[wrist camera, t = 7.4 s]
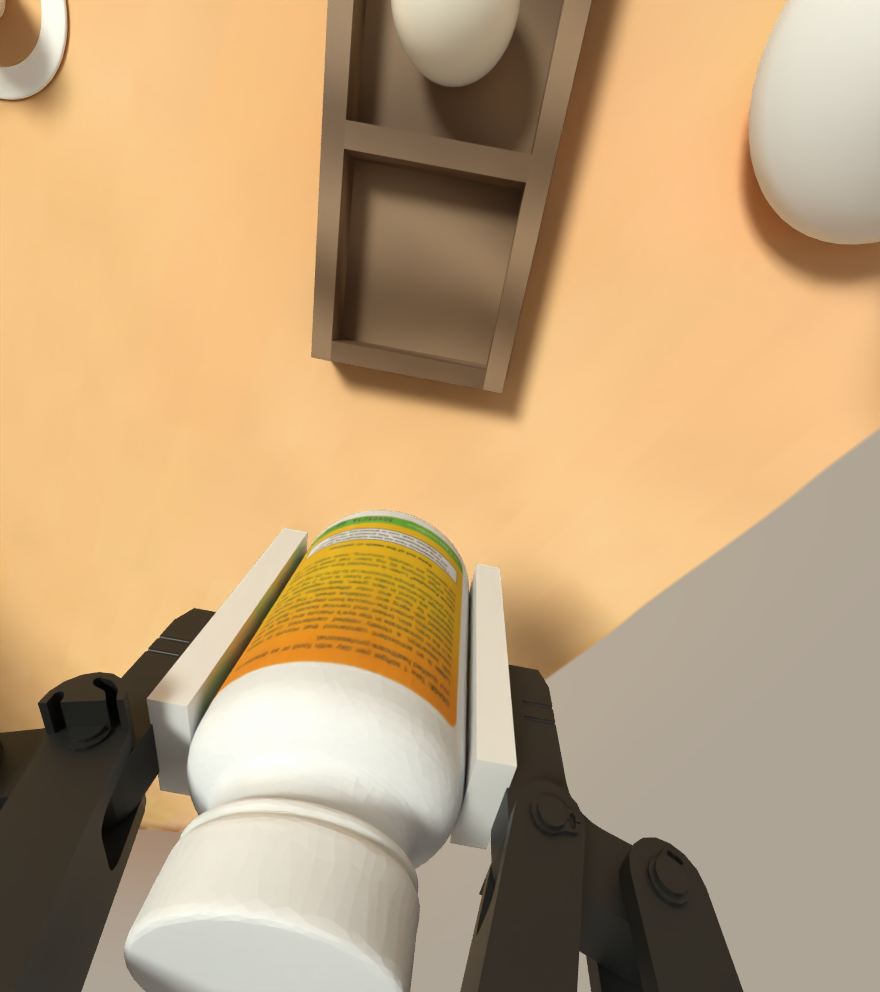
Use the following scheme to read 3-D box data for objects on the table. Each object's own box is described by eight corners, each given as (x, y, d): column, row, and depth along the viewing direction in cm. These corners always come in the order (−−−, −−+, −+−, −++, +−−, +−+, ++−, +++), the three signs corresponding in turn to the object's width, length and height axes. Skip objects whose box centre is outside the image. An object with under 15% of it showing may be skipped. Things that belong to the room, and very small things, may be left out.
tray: (500, 384, 25) (501, 393, 23) (325, 351, 25) (311, 357, 23) (610, -107, 17) (629, -164, 15) (355, -153, 17) (337, -217, 15)
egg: (501, 115, 20) (507, 65, 16) (395, 95, 20) (371, 40, 16) (528, -36, 18) (543, -141, 14) (410, -58, 18) (387, -169, 14)
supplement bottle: (285, 518, 14) (-21, 888, 5) (451, 491, 13) (408, 872, 5) (335, 648, 16) (173, 1065, 8) (481, 631, 16) (491, 1076, 7)
